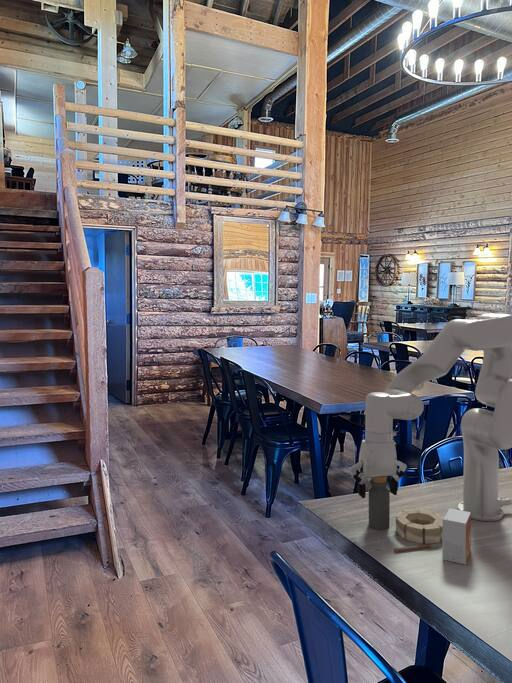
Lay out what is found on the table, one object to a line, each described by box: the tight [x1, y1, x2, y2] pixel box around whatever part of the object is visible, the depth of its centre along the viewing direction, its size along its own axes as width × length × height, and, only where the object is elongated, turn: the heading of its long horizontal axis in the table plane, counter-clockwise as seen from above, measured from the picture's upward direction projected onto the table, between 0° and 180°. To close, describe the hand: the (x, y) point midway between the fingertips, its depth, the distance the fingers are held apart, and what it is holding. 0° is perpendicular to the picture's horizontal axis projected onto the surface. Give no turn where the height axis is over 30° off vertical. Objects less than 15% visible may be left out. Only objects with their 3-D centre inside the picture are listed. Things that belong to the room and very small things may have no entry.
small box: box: [441, 507, 472, 566], centre depth 127 cm, size 8×6×10 cm
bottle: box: [368, 476, 391, 531], centre depth 144 cm, size 6×6×15 cm
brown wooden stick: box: [393, 543, 432, 554], centre depth 130 cm, size 10×1×1 cm, turn 102°
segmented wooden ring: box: [395, 508, 444, 545], centre depth 140 cm, size 12×12×4 cm
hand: (377, 495), depth 144 cm, fingers open, 9 cm apart
